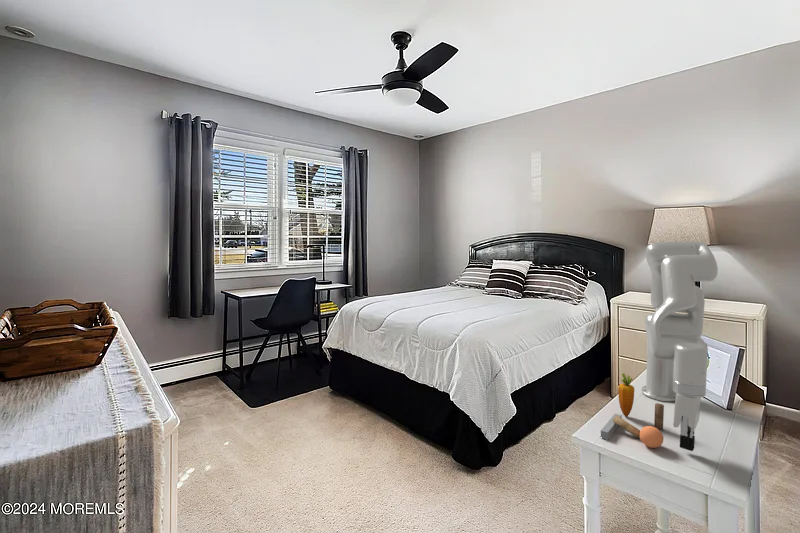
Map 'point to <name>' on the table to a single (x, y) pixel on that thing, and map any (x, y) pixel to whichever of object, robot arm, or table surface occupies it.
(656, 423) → the walnut pin
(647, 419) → the table surface
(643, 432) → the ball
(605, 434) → the back wall
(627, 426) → the oak pin
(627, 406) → the carrot
